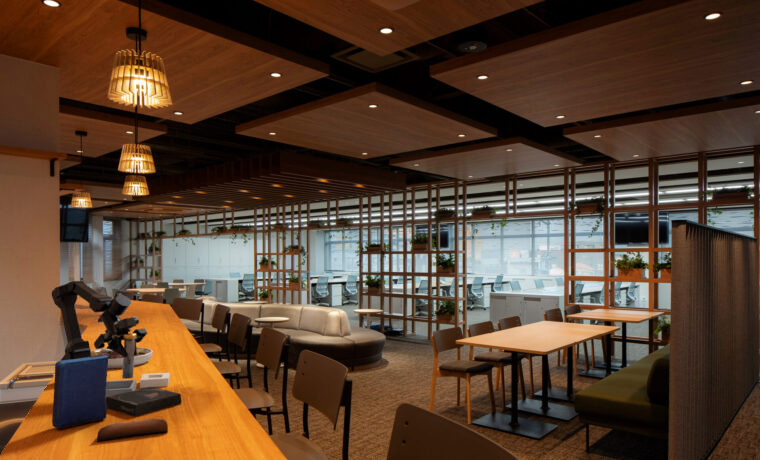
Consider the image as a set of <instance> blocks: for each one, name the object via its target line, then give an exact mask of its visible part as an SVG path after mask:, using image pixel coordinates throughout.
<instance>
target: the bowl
mask: <svg viewBox="0 0 760 460" xmlns="http://www.w3.org/2000/svg"><path fill="white" fill-rule="evenodd" d="M136 348H137V355H136V356H134V367H136V366H139V365H143V364H146V363H147V362H149V360H151V359H152V358H153V354H154V351H153V349H151V348H147V347H141V346H140V347H139V346H136ZM90 351H91V356H90V357H94V356H98V355H102V354H104V355H106V356H108V368H107V370H108V369H123V356H122V355H120V354H118V353H116V352H114V351H112V350H110V349H107V347H106V348H105V347H104V348H101V349H94V350H92V349H91V350H90Z"/></svg>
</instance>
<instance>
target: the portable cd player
mask: <svg viewBox="0 0 760 460" xmlns="http://www.w3.org/2000/svg"><path fill="white" fill-rule="evenodd" d="M182 401H183V400H182V395H181V393H178V392H175V391H174V392H173V391H170V390H166V389H162V388H158V387H146V388H140V389H139V388H138V389H136V390H134V391H130V392H126V393H121V394H117V395H113V396H108V397H106V403H107V410H108V409H109V410H112V411H114V412H118V413H122V414H124V415H129V416H132V417H134V418H136V417H139V416H143V415H146V414H150V413H153V412H157V411H160V410H164V409H168V408H171V407H172V408H173V407H174V406H179V405H181V404H182Z"/></svg>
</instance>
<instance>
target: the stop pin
mask: <svg viewBox="0 0 760 460" xmlns="http://www.w3.org/2000/svg"><path fill="white" fill-rule="evenodd" d="M136 336H137V334H136V333H133V332H128V333H127V334H123V339H124V340H123V341H124V342H123V347H124V349H125V351H126V353H127V357H126V358H125V357H123V368H122V378H121V379H123V380H124V379H125V380H129V379H133V378H134V370H135V369H134V368H135V366H134V351H135V339H136Z"/></svg>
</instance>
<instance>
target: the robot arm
mask: <svg viewBox="0 0 760 460" xmlns="http://www.w3.org/2000/svg"><path fill="white" fill-rule="evenodd" d="M78 296H79V297H80V298H81V299H83V300H84V301H86V302H87V303H88V304H89V305H88V307H89V309H90V310H91V311H93V313H101V314H99V317H98V318H97V323H103V325H104V327H105V331H104V333H100V334H99V336H98V337H97V338H96V339H95V341H94V342H93V346H94V348H95V350H97V349H105V346H106V345H105V343H106V344H107V346H106V348H107V349H110V350H112V351H114V352H116V353H118V354H120V355H122V356H123V357H125V358H126V357H127V353H126V351H125V349H124V344H122V341H124V339H123V334H127V333H131V331H132V328H133V327H137V325H139V323H140V320H139V318H138V316H137V315H135V316H131V317H127V318H123V319H121V317H120V316H122V315H124V313H125V312H126V310H127V309H128V308H129V307H130V306H131V304H132V300H131V299H130V297H128V296H127V295H123V293H121V292H119V293H116V294H115V295H114V297H112V296H109V295H106V294H103V293H99V292H98V291H96V290H95V289H93V288H91V287H90V286H89V285H88V284H86V283H85V281H83V280H72V281H69V282H68V283H64V284H62V285H60V286H56V287H54V289H53V290H52V291H51V297H52V299H53V303H54V305H56V307H57V308H59V309H60V312H61V313H60V314H61V317H62V323H63V326H64V330H65V331H64V332H65V335H66V341H67V344H66V345H65V348H64V355H63V356H62V358H61V359H60V360H59V361H62V360H72V359H79V358H86V357H90V356H91V351H92V348H91V347H90V342H89V340H84V339H83V337H82V333H81V329H80V323H79V320H78V315H77V311H76V307H75V306H76V305H75V304H76V302H77V300H78ZM132 333H136V334H137V336H136V339H135V351H134V356H136V355H137V348H136V347H137V343H140V342H142V341H143V339H144V338H145V337H146V336H147V334H148V331H147V330H146V328H144V327H143V328H136V329H134V331H132Z"/></svg>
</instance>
